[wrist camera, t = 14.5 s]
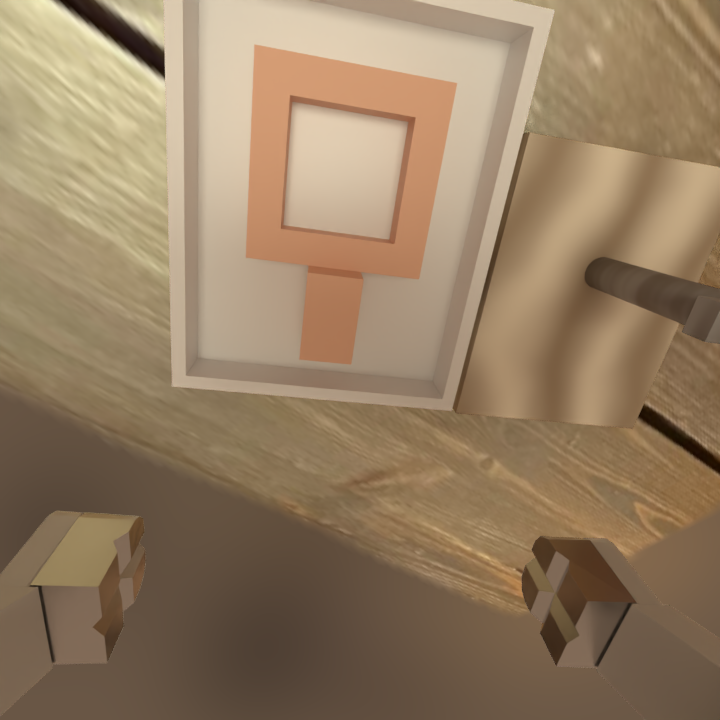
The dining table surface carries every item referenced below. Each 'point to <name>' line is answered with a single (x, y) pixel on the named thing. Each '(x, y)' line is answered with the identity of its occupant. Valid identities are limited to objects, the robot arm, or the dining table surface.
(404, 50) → the tray
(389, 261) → the square frame with stem
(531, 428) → the dining table surface
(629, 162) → the board
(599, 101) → the dining table surface
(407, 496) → the dining table surface
